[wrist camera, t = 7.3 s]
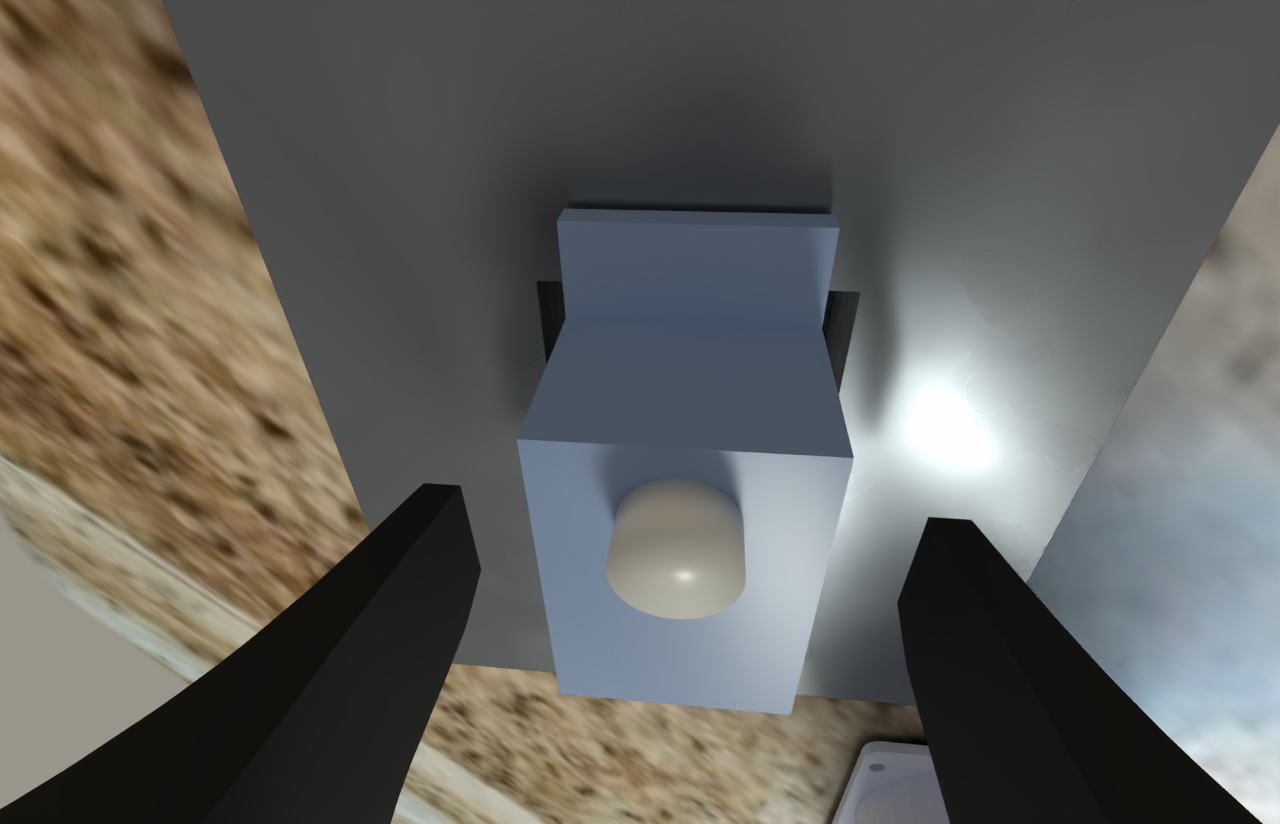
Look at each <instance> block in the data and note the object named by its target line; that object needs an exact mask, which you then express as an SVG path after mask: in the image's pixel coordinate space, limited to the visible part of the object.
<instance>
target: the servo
mask: <svg viewBox="0 0 1280 824" xmlns="http://www.w3.org/2000/svg"><path fill="white" fill-rule="evenodd" d="M557 229H558V239H559V250H560V261H561V271H562V282H563V292H564V303H565V313H566V319H565V322H564V324H563V327H562V329H561V332H560V334H559V336H558V339H557V341H556V344H555V346H554V349H553V351H552V354H551V356H550V359H549V361H548V364H547V366H546V369H545V371H544V373H543V376H542V378H541V381H540V383H539V386H538V388H537V391H536V393H535V396H534V398H533V401H532V403H531V405H530V408H529V410H528V413H527V415H526V418H525V420H524V423H523V425H522V428H521V430H520V433H519V435H518V438H517V443H518V449H519V455H520V461H521V467H522V473H523V479H524V485H525V491H526V497H527V503H528V509H529V515H530V520H531V526H532V532H533V538H534V544H535V550H536V556H537V562H538V568H539V574H540V580H541V586H542V592H543V598H544V604H545V610H546V616H547V621H548V627H549V633H550V639H551V645H552V651H553V657H554V663H555V669H556V675H557V681H558V687H559V693H560V694H568V695H579V696H590V697H600V698H611V699H622V700H633V701H644V702H654V703H665V704H676V705H687V706H697V707H708V708H719V709H730V710H741V711H751V712H762V713H773V714H784V715H791V712H792V708H793V704H794V699H795V695H796V691H797V687H798V683H799V679H800V675H801V671H802V667H803V663H804V659H805V655H806V651H807V647H808V643H809V639H810V635H811V631H812V627H813V623H814V619H815V614H816V610H817V606H818V602H819V598H820V594H821V590H822V586H823V582H824V578H825V574H826V570H827V566H828V562H829V558H830V554H831V550H832V546H833V542H834V538H835V533H836V529H837V525H838V521H839V517H840V513H841V509H842V505H843V501H844V497H845V493H846V489H847V485H848V481H849V477H850V473H851V469H852V465H853V461H854V456H853V452H852V448H851V444H850V439H849V435H848V431H847V427H846V423H845V419H844V415H843V411H842V407H841V403H840V399H839V395H838V391H837V387H836V383H835V379H834V375H833V371H832V367H831V362H830V358H829V354H828V350H827V346H826V342H825V338H824V334H823V330H822V325H823V319H824V313H825V308H826V302H827V297H828V291H829V285H830V280H831V274H832V269H833V263H834V257H835V252H836V246H837V241H838V235H839V229H840V227H839V225H838V222H837V220H836V217H835V215H831V214H786V213H740V212H695V211H650V210H605V209H563V211H562V213H561V215H560V216H559V218H558V220H557Z"/></svg>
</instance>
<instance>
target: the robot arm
mask: <svg viewBox="0 0 1280 824" xmlns="http://www.w3.org/2000/svg"><path fill="white" fill-rule="evenodd" d="M480 573H481V566H480V562H479V558H478V554H477V550H476V546H475V542H474V538H473V534H472V530H471V526H470V522H469V518H468V514H467V510H466V506H465V502H464V498H463V494H462V490H461V485H447V484H432V483H423V484H422V485H421V486H420V487H419V488H418V489H417V490H416V491H415V492H413V493H412V494H411V495H410V496H409V497H408V498H407V499H406V500H405V501H404V502H403V503H402V504H400V505H399V506H398V507H397V508H396V509H395V510H394V511H393V512H392V513H391V514H390V515H389V516H388V517H387V518H386V519H385V520H384V521H383V522H382V523H380V524H379V525H378V526H377V527H376V528H375V529H374V530H373V531H372V532H371V533H370V534H369V535H368V536H367V537H366V538H365V539H364V540H363V541H361V542H360V543H359V544H358V545H357V546H356V547H355V548H354V549H353V550H352V551H351V552H350V553H349V554H347V555H346V556H345V557H344V558H343V559H342V560H341V561H340V562H339V563H338V564H337V565H335V566H334V567H333V568H332V569H331V570H330V571H329V572H328V573H327V574H326V575H324V576H323V577H322V578H321V579H320V580H319V581H318V582H317V583H316V584H315V585H313V586H312V587H311V588H310V589H309V590H308V591H307V592H306V593H304V594H303V595H302V596H301V597H300V598H299V599H297V600H296V601H295V602H294V603H293V604H291V605H290V606H289V607H288V608H287V609H286V610H284V611H283V612H282V613H281V614H280V615H278V616H277V617H276V618H275V619H274V620H272V621H271V622H270V623H269V624H268V625H267V626H265V627H264V628H263V629H262V630H261V631H259V632H258V633H257V634H256V635H255V636H253V637H252V638H251V639H250V640H249V641H247V642H246V643H245V644H243V645H242V646H241V647H240V648H238V649H237V650H236V651H235V652H233V653H232V654H231V655H230V656H228V657H227V658H226V659H224V660H223V661H222V662H221V663H219V664H218V665H217V666H215V667H214V668H213V669H211V670H210V671H209V672H207V673H206V674H204V675H203V676H202V677H200V678H199V679H198V680H196V681H195V682H194V683H192V684H191V685H190V686H188V687H187V688H185V689H184V690H183V691H182V692H180V693H179V694H177V695H176V696H175V697H173V698H172V699H170V700H169V701H168V702H166V703H165V704H163V705H162V706H161V707H159V708H158V709H156V710H155V711H153V712H152V713H150V714H149V715H147V716H146V717H144V718H143V719H141V720H140V721H138V722H137V723H135V724H134V725H132V726H131V727H129V728H128V729H126V730H125V731H123V732H121V733H120V734H119V735H117V736H116V737H114V738H112V739H111V740H109V741H108V742H106V743H105V744H104V745H102V746H101V747H99V748H97V749H96V750H94V751H93V752H92V753H90V754H88V755H87V756H85V757H84V758H83V759H81V760H79V761H78V762H76V763H75V764H73V765H72V766H70V767H69V768H67V769H65V770H64V771H62V772H61V773H59V774H57V775H56V776H54V777H53V778H51V779H49V780H48V781H46V782H45V783H43V784H41V785H40V786H38V787H36V788H35V789H33V790H31V791H30V792H28V793H26V794H25V795H23V796H22V797H20V798H19V799H17V800H15V801H14V802H12V803H10V804H8V805H7V806H5V807H3V808H2V809H0V824H390V823H391V820H392V817H393V814H394V811H395V807H396V804H397V801H398V798H399V795H400V792H401V789H402V786H403V784H404V781H405V778H406V776H407V773H408V770H409V767H410V765H411V762H412V760H413V757H414V755H415V752H416V750H417V747H418V745H419V743H420V740H421V738H422V735H423V733H424V730H425V728H426V725H427V723H428V721H429V718H430V716H431V713H432V711H433V708H434V706H435V703H436V701H437V698H438V696H439V694H440V691H441V689H442V686H443V684H444V681H445V679H446V676H447V674H448V671H449V669H450V666H451V664H452V661H453V659H454V656H455V654H456V651H457V649H458V646H459V644H460V641H461V639H462V636H463V634H464V631H465V628H466V625H467V621H468V618H469V614H470V611H471V607H472V604H473V600H474V596H475V592H476V588H477V585H478V581H479V577H480ZM897 606H898V613H899V620H900V627H901V635H902V641H903V647H904V654H905V660H906V666H907V671H908V674H909V678H910V682H911V686H912V689H913V693H914V697H915V700H916V704H917V708H918V711H919V715H920V719H921V722H922V726H923V729H924V733H925V736H926V740H927V744H928V746H926V745H916V744H906V743H895V742H885V741H873V742H869V743H867V744H866V745H865V746H864V747H863V748H862V750H861V753H860V755H859V758H858V760H857V763H856V765H855V768H854V770H853V773H852V775H851V777H850V780H849V782H848V785H847V787H846V790H845V792H844V795H843V797H842V800H841V802H840V804H839V807H838V809H837V812H836V814H835V817H834V819H833V822H832V824H1262V823H1261V822H1260V821H1259V820H1258V819H1257V818H1256V817H1255V816H1254V815H1252V814H1251V813H1250V812H1249V811H1248V810H1247V809H1246V808H1245V807H1244V806H1243V805H1241V804H1240V803H1239V802H1238V801H1237V800H1236V799H1235V798H1234V797H1233V796H1232V795H1231V794H1229V793H1228V792H1227V791H1226V790H1225V789H1224V788H1223V787H1222V786H1221V785H1220V784H1218V783H1217V782H1216V781H1215V780H1214V779H1213V778H1212V777H1211V776H1210V775H1209V774H1208V773H1206V772H1205V771H1204V770H1203V769H1202V768H1201V767H1200V766H1199V765H1198V764H1197V763H1195V762H1194V761H1193V760H1192V759H1191V758H1190V757H1189V756H1188V755H1187V754H1186V753H1185V752H1184V751H1183V750H1182V749H1181V748H1180V747H1179V746H1178V745H1177V744H1176V743H1175V742H1174V741H1172V740H1171V739H1170V738H1169V737H1168V736H1167V735H1166V734H1165V733H1164V732H1163V731H1162V730H1161V729H1160V728H1159V727H1158V726H1157V725H1156V724H1155V723H1154V722H1153V721H1152V720H1151V719H1150V718H1149V717H1148V716H1147V715H1146V714H1145V713H1144V712H1143V711H1142V710H1141V709H1140V708H1139V707H1138V705H1137V704H1136V703H1135V702H1134V701H1133V700H1132V699H1131V698H1130V697H1129V696H1128V695H1127V694H1126V693H1125V692H1124V691H1123V690H1122V689H1121V688H1120V687H1119V686H1118V685H1117V684H1116V683H1115V682H1114V681H1113V680H1112V679H1111V678H1110V677H1109V676H1108V675H1107V674H1106V673H1105V671H1104V670H1103V669H1102V668H1101V667H1100V666H1099V665H1098V664H1097V663H1096V662H1095V661H1094V660H1093V659H1092V657H1091V656H1090V655H1089V654H1088V653H1087V652H1086V651H1085V650H1084V649H1083V648H1082V646H1081V645H1080V644H1079V643H1078V642H1077V641H1076V640H1075V639H1074V638H1073V637H1072V635H1071V634H1070V633H1069V632H1068V631H1067V630H1066V629H1065V628H1064V627H1063V625H1062V624H1061V623H1060V622H1059V621H1058V620H1057V619H1056V618H1055V617H1054V615H1053V614H1052V613H1051V612H1050V611H1049V610H1048V609H1047V607H1046V606H1045V605H1044V604H1043V603H1042V602H1041V601H1040V599H1039V598H1038V597H1037V596H1036V595H1035V594H1034V592H1033V591H1032V590H1031V589H1030V588H1029V587H1028V585H1027V584H1026V583H1025V582H1024V581H1023V580H1022V578H1021V577H1020V576H1019V575H1018V574H1017V573H1016V571H1015V570H1014V569H1013V568H1012V567H1011V565H1010V564H1009V563H1008V562H1007V561H1006V560H1005V558H1004V557H1003V556H1002V555H1001V554H1000V553H999V551H998V550H997V549H996V548H995V547H994V545H993V544H992V543H991V542H990V541H989V540H988V538H987V537H986V536H985V535H984V534H983V533H982V531H981V530H980V529H979V528H978V527H977V526H976V524H975V523H974V522H973V521H972V520H969V519H954V518H939V517H928V520H927V522H926V525H925V528H924V531H923V533H922V536H921V539H920V542H919V544H918V547H917V550H916V552H915V555H914V558H913V561H912V563H911V566H910V569H909V572H908V574H907V577H906V580H905V583H904V585H903V588H902V591H901V594H900V596H899V599H898V602H897Z"/></svg>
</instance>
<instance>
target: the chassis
mask: <svg viewBox="0 0 1280 824" xmlns="http://www.w3.org/2000/svg"><path fill="white" fill-rule="evenodd" d="M162 1H163V4H164V6H165V9H166V12H167V14H168V17H169V19H170V22H171V24H172V27H173V29H174V32H175V35H176V37H177V40H178V42H179V45H180V47H181V50H182V52H183V55H184V58H185V60H186V63H187V65H188V68H189V70H190V73H191V75H192V78H193V81H194V83H195V86H196V88H197V91H198V93H199V96H200V98H201V101H202V104H203V106H204V109H205V111H206V114H207V116H208V119H209V121H210V124H211V127H212V129H213V132H214V134H215V137H216V139H217V142H218V144H219V147H220V150H221V152H222V155H223V157H224V160H225V162H226V165H227V167H228V170H229V173H230V175H231V178H232V180H233V183H234V185H235V188H236V190H237V193H238V195H239V198H240V201H241V203H242V206H243V208H244V211H245V213H246V216H247V218H248V221H249V224H250V226H251V229H252V231H253V234H254V236H255V239H256V241H257V244H258V247H259V249H260V252H261V254H262V257H263V259H264V262H265V264H266V267H267V270H268V272H269V275H270V277H271V280H272V282H273V285H274V287H275V290H276V293H277V295H278V298H279V300H280V303H281V305H282V308H283V310H284V313H285V316H286V318H287V321H288V323H289V326H290V328H291V331H292V333H293V336H294V339H295V341H296V344H297V346H298V349H299V351H300V354H301V356H302V359H303V362H304V364H305V367H306V369H307V372H308V374H309V377H310V379H311V382H312V385H313V387H314V390H315V392H316V395H317V397H318V400H319V402H320V405H321V408H322V410H323V413H324V415H325V418H326V420H327V423H328V425H329V428H330V431H331V433H332V436H333V438H334V441H335V443H336V446H337V448H338V451H339V453H340V456H341V459H342V461H343V464H344V466H345V469H346V471H347V474H348V476H349V479H350V482H351V484H352V487H353V489H354V492H355V494H356V497H357V499H358V502H359V505H360V507H361V510H362V512H363V515H364V517H365V520H366V522H367V525H368V528H369V530H370V533H371V532H372V531H373V530H374V529H375V528H376V527H377V526H378V525H379V524H380V523H382V522H383V521H384V520H385V519H386V518H387V517H388V516H389V515H390V514H391V513H392V512H393V511H394V510H395V509H396V508H397V507H398V506H399V505H400V504H402V503H403V502H404V501H405V500H406V499H407V498H408V497H409V496H410V495H411V494H412V493H413V492H415V491H416V490H417V489H418V488H419V487H420V486H421V485H422V484H423V483H432V484H447V485H461V490H462V494H463V498H464V502H465V506H466V510H467V514H468V518H469V522H470V526H471V530H472V534H473V538H474V542H475V546H476V550H477V554H478V558H479V562H480V566H481V573H480V577H479V581H478V585H477V588H476V592H475V596H474V600H473V604H472V607H471V611H470V614H469V618H468V621H467V625H466V628H465V631H464V634H463V636H462V639H461V641H460V644H459V646H458V649H457V651H456V654H455V656H454V659H453V661H452V663H454V664H465V665H476V666H487V667H498V668H509V669H520V670H531V671H542V672H553V673H556V669H555V663H554V657H553V651H552V645H551V639H550V633H549V627H548V621H547V616H546V610H545V604H544V598H543V592H542V586H541V580H540V574H539V568H538V562H537V556H536V550H535V544H534V538H533V532H532V526H531V520H530V515H529V509H528V503H527V497H526V491H525V485H524V479H523V473H522V467H521V461H520V455H519V449H518V443H517V438H518V435H519V433H520V430H521V428H522V425H523V423H524V420H525V418H526V415H527V413H528V410H529V408H530V405H531V403H532V401H533V398H534V396H535V393H536V391H537V388H538V386H539V383H540V381H541V378H542V376H543V373H544V371H545V369H546V366H547V364H548V361H549V359H550V356H551V354H552V351H553V349H554V346H555V344H556V341H557V339H558V336H559V334H560V332H561V329H562V327H563V324H564V322H565V319H566V313H565V303H564V292H563V282H562V271H561V261H560V250H559V239H558V229H557V220H558V218H559V216H560V215H561V213H562V211H563V209H605V210H650V211H695V212H740V213H786V214H831V215H835V217H836V220H837V222H838V225H839V227H840V229H839V235H838V241H837V246H836V252H835V257H834V263H833V269H832V274H831V280H830V285H829V291H835V292H834V298H833V303H832V308H831V314H830V319H829V325H828V330H827V335H826V341H825V342H826V346H827V350H828V354H829V358H830V362H831V367H832V371H833V375H834V379H835V383H836V387H837V391H838V395H839V399H840V403H841V407H842V411H843V415H844V419H845V423H846V427H847V431H848V435H849V439H850V444H851V448H852V452H853V456H854V461H853V465H852V469H851V473H850V477H849V481H848V485H847V489H846V493H845V497H844V501H843V505H842V509H841V513H840V517H839V521H838V525H837V529H836V533H835V538H834V542H833V546H832V550H831V554H830V558H829V562H828V566H827V570H826V574H825V578H824V582H823V586H822V590H821V594H820V598H819V602H818V606H817V610H816V614H815V619H814V623H813V627H812V631H811V635H810V639H809V643H808V647H807V651H806V655H805V659H804V663H803V667H802V671H801V675H800V679H799V683H798V687H797V691H796V695H805V696H816V697H827V698H838V699H849V700H860V701H871V702H882V703H893V704H904V705H914V706H917V704H916V700H915V697H914V693H913V689H912V686H911V682H910V678H909V674H908V671H907V666H906V660H905V654H904V647H903V641H902V635H901V627H900V620H899V613H898V606H897V602H898V599H899V596H900V594H901V591H902V588H903V585H904V583H905V580H906V577H907V574H908V572H909V569H910V566H911V563H912V561H913V558H914V555H915V552H916V550H917V547H918V544H919V542H920V539H921V536H922V533H923V531H924V528H925V525H926V522H927V520H928V517H939V518H954V519H969V520H972V521H973V522H974V523H975V524H976V526H977V527H978V528H979V529H980V530H981V531H982V533H983V534H984V535H985V536H986V537H987V538H988V540H989V541H990V542H991V543H992V544H993V545H994V547H995V548H996V549H997V550H998V551H999V553H1000V554H1001V555H1002V556H1003V557H1004V558H1005V560H1006V561H1007V562H1008V563H1009V564H1010V565H1011V567H1012V568H1013V569H1014V570H1015V571H1016V573H1017V574H1018V575H1019V576H1020V577H1021V578H1022V580H1023V581H1024V582H1025V583H1027V581H1028V579H1029V577H1030V575H1031V574H1032V572H1033V570H1034V568H1035V566H1036V565H1037V563H1038V561H1039V559H1040V557H1041V555H1042V554H1043V552H1044V550H1045V548H1046V546H1047V545H1048V543H1049V541H1050V539H1051V537H1052V536H1053V534H1054V532H1055V530H1056V528H1057V526H1058V525H1059V523H1060V521H1061V519H1062V517H1063V516H1064V514H1065V512H1066V510H1067V508H1068V506H1069V505H1070V503H1071V501H1072V499H1073V497H1074V496H1075V494H1076V492H1077V490H1078V488H1079V486H1080V485H1081V483H1082V481H1083V479H1084V477H1085V476H1086V474H1087V472H1088V470H1089V468H1090V466H1091V465H1092V463H1093V461H1094V459H1095V457H1096V456H1097V454H1098V452H1099V450H1100V448H1101V447H1102V445H1103V443H1104V441H1105V439H1106V437H1107V436H1108V434H1109V432H1110V430H1111V428H1112V427H1113V425H1114V423H1115V421H1116V419H1117V417H1118V416H1119V414H1120V412H1121V410H1122V408H1123V407H1124V405H1125V403H1126V401H1127V399H1128V397H1129V396H1130V394H1131V392H1132V390H1133V388H1134V387H1135V385H1136V383H1137V381H1138V379H1139V377H1140V376H1141V374H1142V372H1143V370H1144V368H1145V367H1146V365H1147V363H1148V361H1149V359H1150V358H1151V356H1152V354H1153V352H1154V350H1155V348H1156V347H1157V345H1158V343H1159V341H1160V339H1161V338H1162V336H1163V334H1164V332H1165V330H1166V328H1167V327H1168V325H1169V323H1170V321H1171V319H1172V318H1173V316H1174V314H1175V312H1176V310H1177V308H1178V307H1179V305H1180V303H1181V301H1182V299H1183V298H1184V296H1185V294H1186V292H1187V290H1188V288H1189V287H1190V285H1191V283H1192V281H1193V279H1194V278H1195V276H1196V274H1197V272H1198V270H1199V269H1200V267H1201V265H1202V263H1203V261H1204V259H1205V258H1206V256H1207V254H1208V252H1209V250H1210V249H1211V247H1212V245H1213V243H1214V241H1215V239H1216V238H1217V236H1218V234H1219V232H1220V230H1221V229H1222V227H1223V225H1224V223H1225V221H1226V219H1227V218H1228V216H1229V214H1230V212H1231V210H1232V209H1233V207H1234V205H1235V203H1236V201H1237V199H1238V198H1239V196H1240V194H1241V192H1242V190H1243V189H1244V187H1245V185H1246V183H1247V181H1248V180H1249V178H1250V176H1251V174H1252V172H1253V170H1254V169H1255V167H1256V165H1257V163H1258V161H1259V160H1260V158H1261V156H1262V154H1263V152H1264V150H1265V149H1266V147H1267V145H1268V143H1269V141H1270V140H1271V138H1272V136H1273V134H1274V132H1275V130H1276V129H1277V127H1278V125H1279V123H1280V0H162Z"/></svg>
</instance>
